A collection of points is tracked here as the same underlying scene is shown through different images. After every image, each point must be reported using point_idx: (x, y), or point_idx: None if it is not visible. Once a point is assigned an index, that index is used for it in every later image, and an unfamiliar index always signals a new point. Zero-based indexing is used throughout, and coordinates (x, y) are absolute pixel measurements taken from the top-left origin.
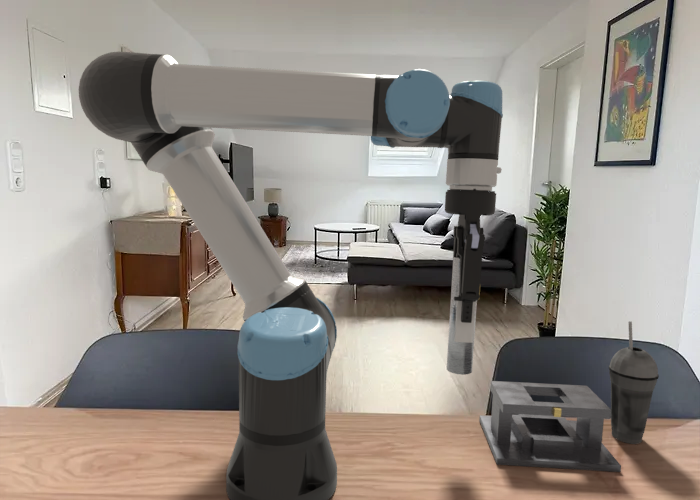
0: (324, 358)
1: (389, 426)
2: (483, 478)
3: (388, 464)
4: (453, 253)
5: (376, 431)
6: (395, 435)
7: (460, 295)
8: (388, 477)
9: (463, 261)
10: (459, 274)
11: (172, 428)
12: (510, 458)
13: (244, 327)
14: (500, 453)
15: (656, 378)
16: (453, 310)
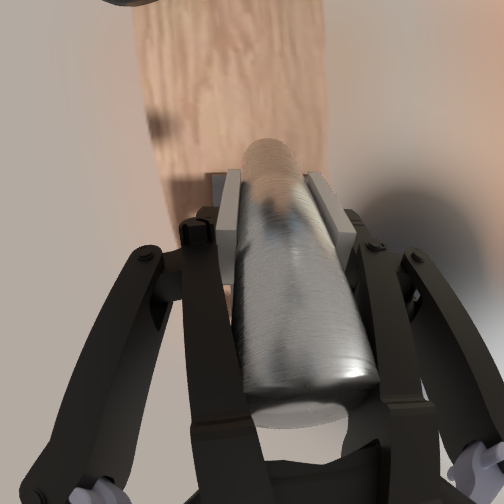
0: None
1: (300, 50)
2: (181, 153)
3: (195, 47)
4: (485, 353)
5: (282, 31)
6: (273, 55)
7: (148, 250)
8: (167, 50)
9: (109, 387)
10: (241, 315)
11: None
12: (213, 190)
13: None
14: (223, 181)
15: None
16: (257, 199)
